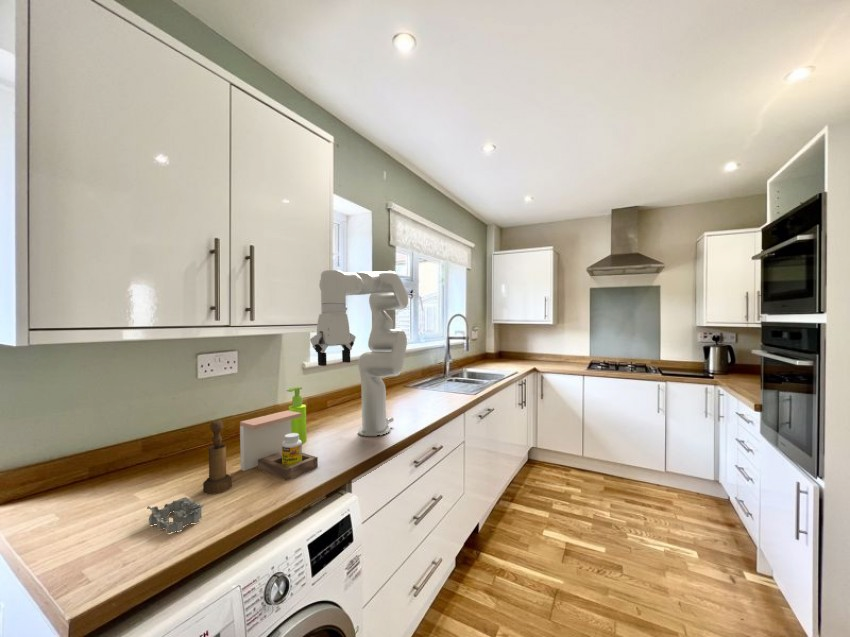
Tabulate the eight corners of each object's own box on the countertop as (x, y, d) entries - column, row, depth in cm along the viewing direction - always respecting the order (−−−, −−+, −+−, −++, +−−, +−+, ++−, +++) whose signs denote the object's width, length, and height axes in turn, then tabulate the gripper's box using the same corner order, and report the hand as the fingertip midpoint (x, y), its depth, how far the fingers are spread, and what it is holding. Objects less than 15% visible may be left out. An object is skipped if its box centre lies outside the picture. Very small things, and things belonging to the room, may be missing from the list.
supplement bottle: (279, 473, 102) (278, 438, 102) (285, 466, 108) (285, 432, 108) (299, 473, 103) (298, 437, 103) (304, 465, 108) (303, 431, 108)
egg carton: (144, 525, 78) (144, 506, 78) (182, 509, 84) (182, 492, 84) (168, 539, 72) (168, 518, 72) (206, 520, 79) (206, 502, 79)
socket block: (289, 458, 114) (289, 448, 114) (317, 467, 106) (317, 457, 106) (258, 469, 106) (257, 459, 106) (286, 480, 98) (286, 469, 98)
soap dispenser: (283, 444, 128) (282, 388, 128) (298, 438, 134) (297, 385, 134) (295, 446, 125) (294, 389, 125) (309, 440, 131) (308, 386, 132)
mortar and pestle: (237, 485, 95) (236, 418, 96) (215, 496, 89) (214, 425, 90) (220, 481, 98) (219, 416, 98) (197, 492, 92) (196, 422, 92)
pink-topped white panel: (288, 452, 119) (287, 410, 120) (302, 457, 115) (301, 413, 115) (240, 469, 106) (239, 421, 106) (254, 474, 102) (253, 425, 102)
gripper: (346, 310, 121) (347, 360, 121) (302, 309, 107) (303, 366, 107) (361, 309, 117) (362, 361, 117) (319, 308, 103) (320, 367, 103)
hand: (334, 363), depth 112 cm, fingers open, 9 cm apart
